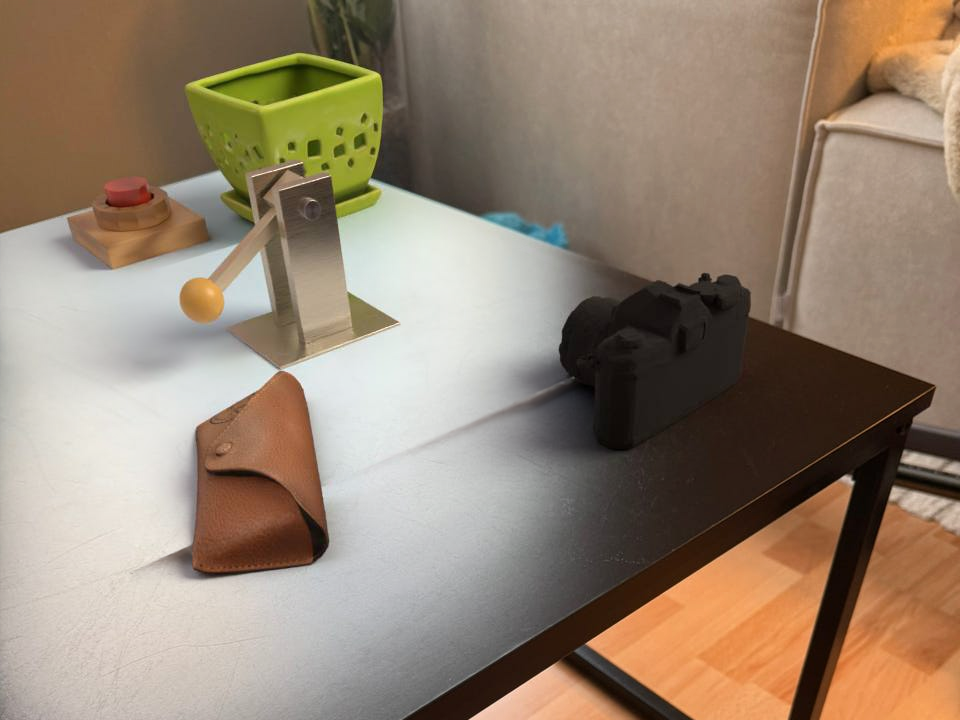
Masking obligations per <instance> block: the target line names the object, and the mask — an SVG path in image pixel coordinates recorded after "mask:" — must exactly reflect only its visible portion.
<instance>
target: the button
mask: <svg viewBox="0 0 960 720" xmlns="http://www.w3.org/2000/svg"><path fill="white" fill-rule="evenodd" d="M149 186H150V185H149V183H148V180H147V179H146V178H144V177H141V176H125V177H119V178H116V179H113V180H110V181H108V182H107V183H105V184H104V187H103V189H104V193H106V196H107V199H108V203H109V206H110V207H117V208H124V207H134V206H138V205H141V204H145V203H147V202H149V201H150V200H152V198H151V194H150V190H149Z"/></svg>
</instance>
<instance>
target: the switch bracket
mask: <svg viewBox="0 0 960 720" xmlns="http://www.w3.org/2000/svg"><path fill="white" fill-rule="evenodd" d="M287 170H289V171H291V172H293V173H295V174H297V175H299V176H301V177H303V178H302V179H298V180H295V181H291V182H288V183H284V184H281V185H277V186H274V185H275V183H276V182H277V181H278V180H279V179H280V178H281V177H282V176H283V174H284V173H285V172H286V171H287ZM245 176H246V181H247V186H248V191H249V196H250V202H251V207H252V212H253V217H254V222H255V223H254V226H255V225H256V224H257V223H258V222H259V221H260V220H261V218H262V217H263V216H264V215H265V214H266V213H267V212H268V211H269V210H270V208H271V207H270V206H269V205H268V204H267V202H266V201H265V200H264V199H263V197H264V196H265V195H266V194H267V192H268V191H269V190H270V189H271V188H272V193H273V198H274V204H275V210H276V215H277V221H278V226H279V230H278V231H277V232H276V233H275V234H274V235H273V237H272V238H271V239H270V240H269V241H268V242H267V243H266V244H265V246H264V247H263V248H262V249H261V250H260V251H259V253H260V257H261V263H262V268H263V275H264V278H265V284H266V288H267V295H268V299H269V303H270V309H271V311H269V312H267V313H264V314H261V315H259V316H256V317H253V318H250V319H247V320H244V321H241V322H238V323H234V324H232V325H229V326H227V327H225V329H226V331H228V333H230V334H231V335H232V336H234V337H235V338H237V339H238V340H240V342H242V343H243V344H245V345H246V346H248V347H249V348H250V349H252V350H253V351H255V352H256V353H257V354H259V355H260V356H261V357H263V358H264V359H265V360H266V361H268V362H270V363H271V364H272V365H274V366H275V367H276V368H278V369H279V371H283V370H284V369H287V368H290V367H293V366H295V365H298V364H301V363H303V362H306V361H309V360H311V359H314V358H317V357H319V356H322V355H324V354H328V353H330V352H332V351H335V350H338V349H341V348H343V347H347V346H349V345H351V344H354V343H357V342H359V341H362V340H365V339H368V338H370V337H373V336H375V335H379V334H381V333H383V332H386V331H388V330H392V329H394V328H397V327H399V326H401V322H400V321H399V320H397V319H396V318H394V317H392V316H390V315H388V314H387V313H385V312H384V311H382V310H380V309H379V308H377V307H375V306H373V305H371V304H370V303H368V302H366V301H365V300H363V299H361V298H360V297H358V296H356V295H355V294H353V293H352V292H350V291H348V286H347V279H346V271H345V265H344V257H343V250H342V244H341V243H342V242H341V236H340V229H339V221H338V219H337V214H336V206H335V199H334V192H333V185H332V177H331V175H330V174H327V173H325V172H323V173H319V174H316V175H312V176H309V177H305V172H304V165H303V162H302V161H299V160H297V159H295V160H292V161H288V162H284V163H281V164H277V165H274V166H270V167H266V168H263V169H259V170H256V171H252V172H248V173H246V174H245ZM273 186H274V187H273Z"/></svg>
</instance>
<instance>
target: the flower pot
mask: <svg viewBox="0 0 960 720" xmlns="http://www.w3.org/2000/svg"><path fill="white" fill-rule="evenodd" d="M383 91H384V90H383V80H382V76H381V75H380V74H379V72H377V71H373V70H371V69H367V68H365V67H361V66H358V65H355V64H351V63H347V62H344V61H340V60H337V59H332V58H328V57H324V56H319V55H314V54H309V53H303V52H296V53H293V54H287V55H284V56H279V57H276V58H272V59H269V60H264V61H261V62H257V63H254V64H250V65H246V66H243V67H239V68H236V69H235V68H234V69H231V70H228V71H225V72H222V73H217V74H214V75H211V76H207V77H204V78H201V79H198V80H195V81H191V82H189V83H187V84H186V85H184V92H185V96H186V99H187V103H188V106H189V109H190V112H191V115H192V118H193V120H194V124H195V126H196V128H197V131H198V134H199V136H200V138H201V140H202V142H203V144H204V146H205V148H206V150H207V152H208V154H209V155H210V157H211V159H212V161H213V162H214V164H215V166H216V167H217V168H218V170H219V171H220V173H221V174H222V176H223V177H224V178H225V180H226V181H227V182H228V183H229V185H230V186H231V187H232V188H233V189H231V190H230V189H229V190H227V191H225V192H222V193H220V194H219V198H220V199H221V201H222V202H223V204H225V206H227V207H228V208H229V209H230V210H231V211H232V212H234V213H235V214H237V215H238V216H240V217H242V218H243V219H245V220H247V221H250V222H251V223H253V224H255V222H254V217H253V212H252V207H251V202H250V196H249V191H248V186H247V181H246V176H245V174H246V173H248V172H252V171H256V170H259V169H263V168H266V167H270V166H274V165H277V164H281V163H284V162H288V161H292V160H295V159H297V160H299V161H302V162H303V165H304V172H305V177H309V176H312V175H316V174H319V173H323V172H325V173H327V174H330V175H331V177H332V185H333V192H334V199H335V206H336V214H337V220H338V219H340V218H343V217H346V216H349V215H352V214H355V213H357V212H360V211H363V210H366V209H369V208H371V207H373V206H375V205H376V203H378V201H379V199H380V198H381V196H382V189H381V188H380V187H377V186H374V185H372V184H369V182H370V180H371V178H372V175H373V173H374V169H375V166H376V162H377V159H378V156H379V150H380V146H381V137H382V125H383V124H382V123H383V114H384V112H383V111H384V99H383V98H384V96H383V95H384V94H383V93H384V92H383ZM294 96H295V97H294ZM229 144H230V146H229Z"/></svg>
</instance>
